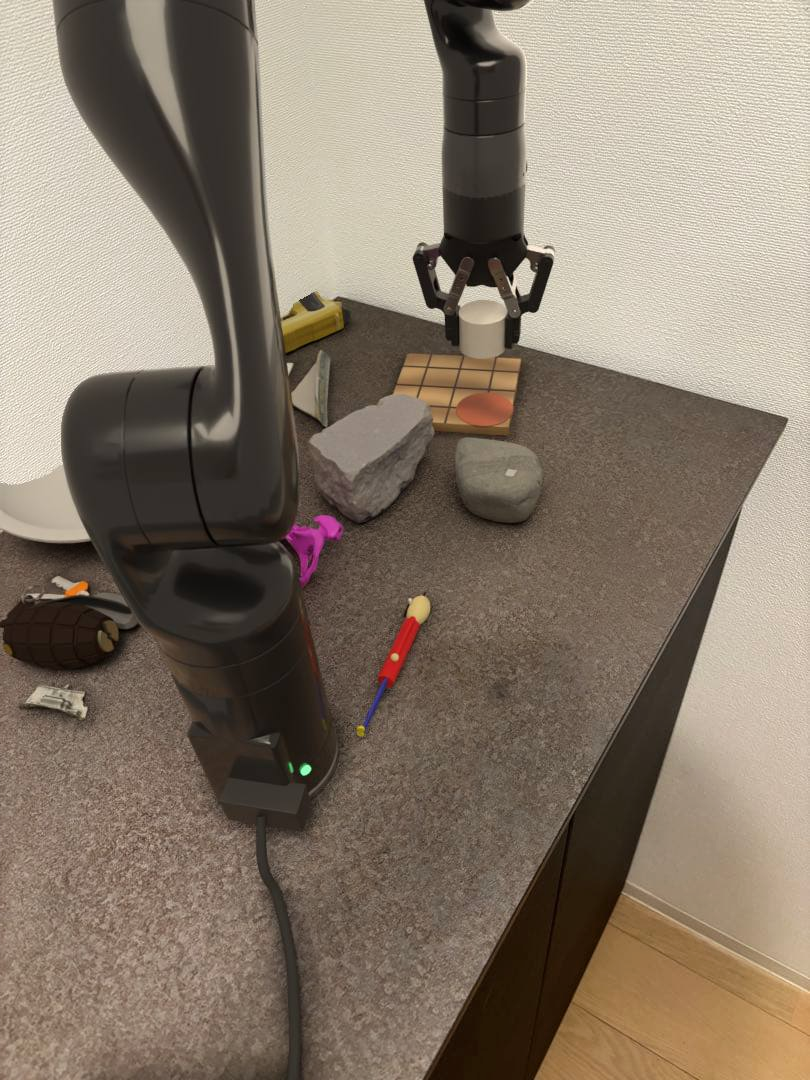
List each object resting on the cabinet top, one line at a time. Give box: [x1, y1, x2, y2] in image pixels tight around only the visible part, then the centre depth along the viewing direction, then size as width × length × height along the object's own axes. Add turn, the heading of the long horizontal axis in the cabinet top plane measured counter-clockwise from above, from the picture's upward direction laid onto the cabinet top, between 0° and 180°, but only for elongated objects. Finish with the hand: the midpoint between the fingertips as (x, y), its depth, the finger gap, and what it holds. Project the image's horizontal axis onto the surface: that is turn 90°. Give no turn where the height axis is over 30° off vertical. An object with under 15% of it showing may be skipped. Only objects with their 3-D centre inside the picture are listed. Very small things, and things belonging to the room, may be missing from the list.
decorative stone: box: [307, 393, 436, 524], centre depth 81 cm, size 15×7×10 cm
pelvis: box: [284, 514, 344, 590], centre depth 71 cm, size 12×10×7 cm
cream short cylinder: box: [458, 299, 507, 359], centre depth 82 cm, size 5×5×4 cm
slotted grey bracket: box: [16, 683, 88, 721], centre depth 64 cm, size 6×2×3 cm
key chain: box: [21, 575, 139, 630], centre depth 72 cm, size 13×4×2 cm, turn 65°
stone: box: [454, 436, 544, 524], centre depth 78 cm, size 9×9×10 cm
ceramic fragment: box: [291, 349, 331, 428], centre depth 94 cm, size 14×5×4 cm, turn 1°
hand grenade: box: [0, 583, 131, 670], centre depth 67 cm, size 5×7×11 cm
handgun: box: [280, 290, 352, 354], centre depth 105 cm, size 2×19×12 cm
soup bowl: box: [0, 465, 92, 544], centre depth 82 cm, size 24×24×7 cm
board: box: [392, 352, 522, 437], centre depth 93 cm, size 14×14×1 cm
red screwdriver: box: [356, 591, 431, 738], centre depth 65 cm, size 3×2×15 cm
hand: (483, 343), depth 83 cm, fingers closed on cream short cylinder, 5 cm apart
